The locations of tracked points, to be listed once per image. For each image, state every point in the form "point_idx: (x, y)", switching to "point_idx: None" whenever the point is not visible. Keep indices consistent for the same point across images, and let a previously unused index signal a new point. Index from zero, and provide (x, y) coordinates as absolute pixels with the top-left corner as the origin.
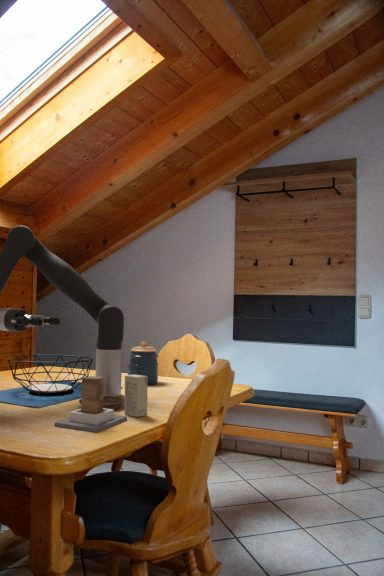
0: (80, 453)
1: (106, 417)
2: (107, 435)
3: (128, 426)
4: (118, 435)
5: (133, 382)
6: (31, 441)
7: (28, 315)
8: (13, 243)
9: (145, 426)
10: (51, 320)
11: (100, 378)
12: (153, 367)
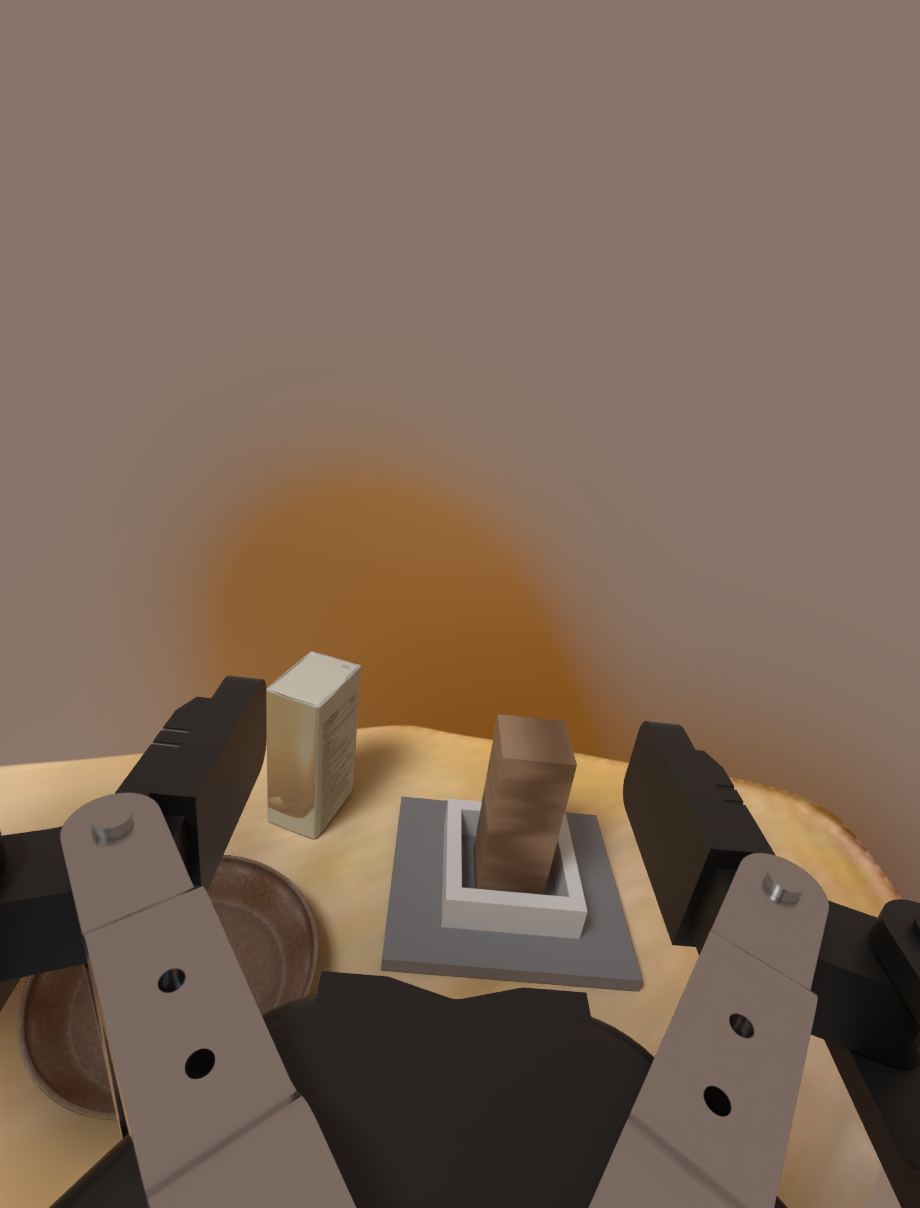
0: (757, 789)
1: None
2: (596, 793)
3: (475, 780)
4: (576, 772)
5: (349, 697)
6: None
7: (639, 1120)
8: None
9: (450, 747)
10: (217, 806)
11: (526, 718)
12: None
